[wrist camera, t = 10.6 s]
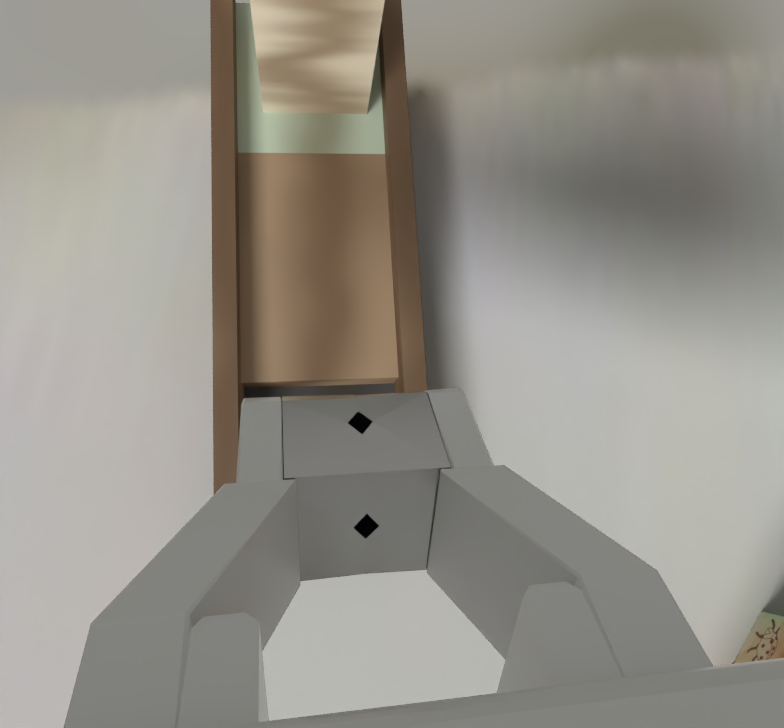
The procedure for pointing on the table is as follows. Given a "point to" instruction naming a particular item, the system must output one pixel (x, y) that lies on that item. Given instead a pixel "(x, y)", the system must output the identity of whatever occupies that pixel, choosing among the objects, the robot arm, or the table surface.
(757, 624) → the stack of blocks
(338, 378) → the walled track
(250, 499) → the robot arm
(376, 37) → the birch block
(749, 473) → the table surface
